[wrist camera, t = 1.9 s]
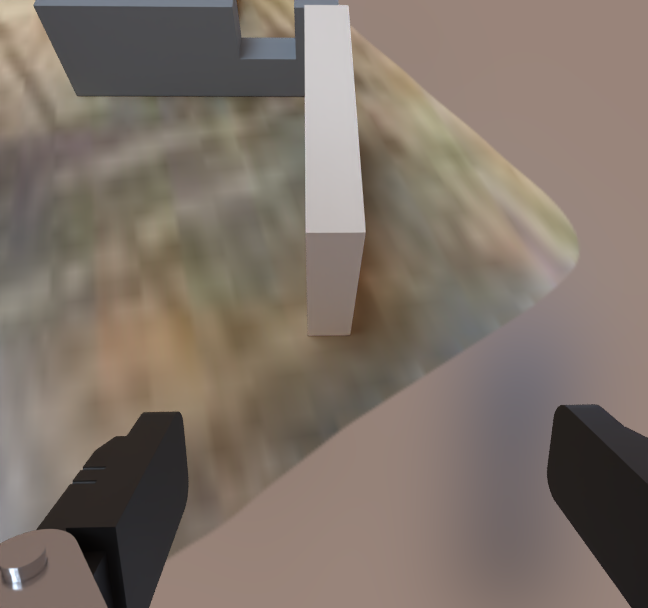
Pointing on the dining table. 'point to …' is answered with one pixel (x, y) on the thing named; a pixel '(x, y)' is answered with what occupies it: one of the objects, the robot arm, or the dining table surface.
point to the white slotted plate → (331, 172)
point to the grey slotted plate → (171, 48)
